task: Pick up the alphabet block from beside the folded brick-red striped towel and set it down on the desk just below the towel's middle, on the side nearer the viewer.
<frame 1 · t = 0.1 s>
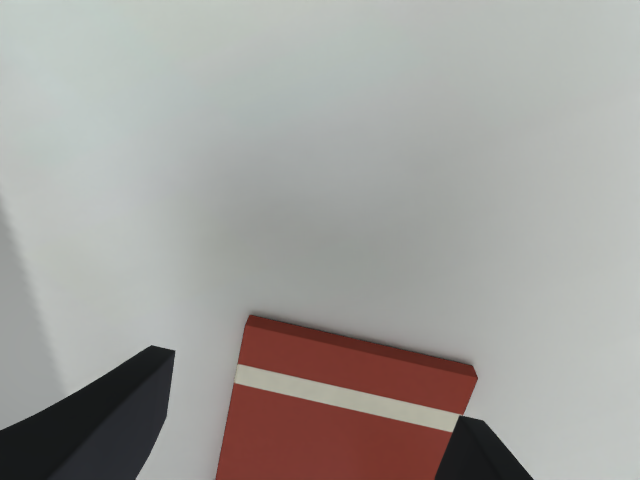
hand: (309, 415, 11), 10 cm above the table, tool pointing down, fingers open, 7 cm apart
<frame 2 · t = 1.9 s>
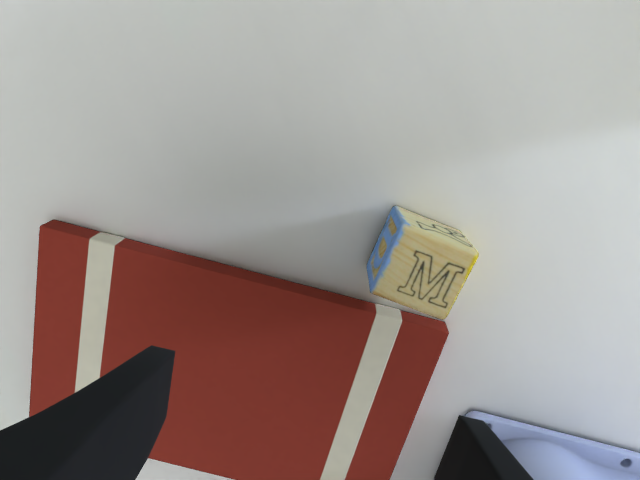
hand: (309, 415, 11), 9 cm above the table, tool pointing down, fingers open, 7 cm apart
towel: (228, 371, 23), on the table
alphabet block: (412, 245, 20), on the table
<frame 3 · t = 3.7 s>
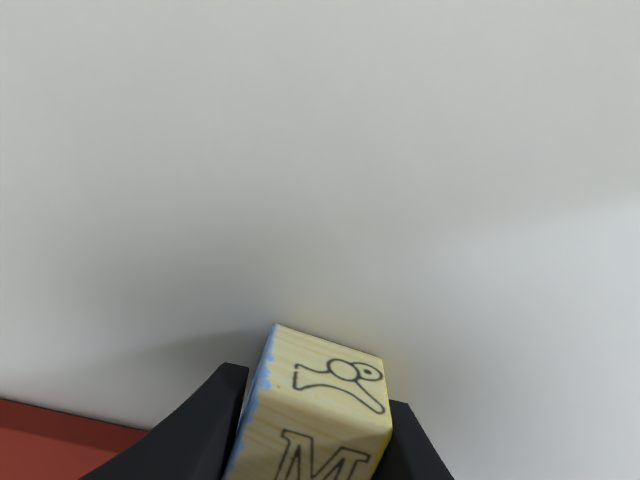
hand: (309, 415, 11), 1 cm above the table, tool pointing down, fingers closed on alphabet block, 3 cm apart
alphabet block: (312, 376, 13), on the table, touching gripper
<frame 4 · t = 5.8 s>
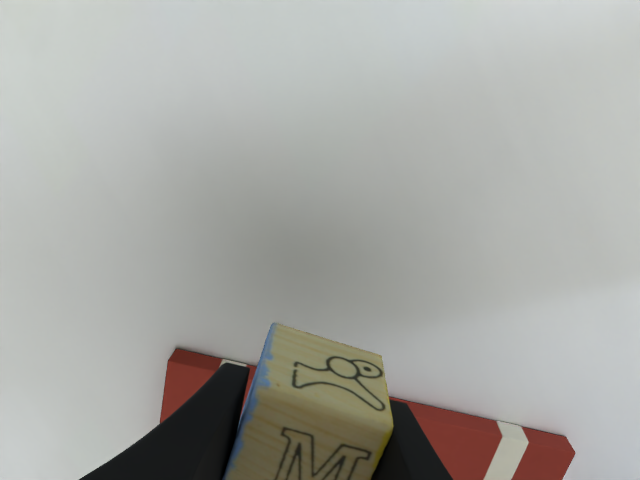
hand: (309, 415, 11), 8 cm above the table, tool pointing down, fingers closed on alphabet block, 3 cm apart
alphabet block: (312, 374, 13), point 7 cm above the table, touching gripper
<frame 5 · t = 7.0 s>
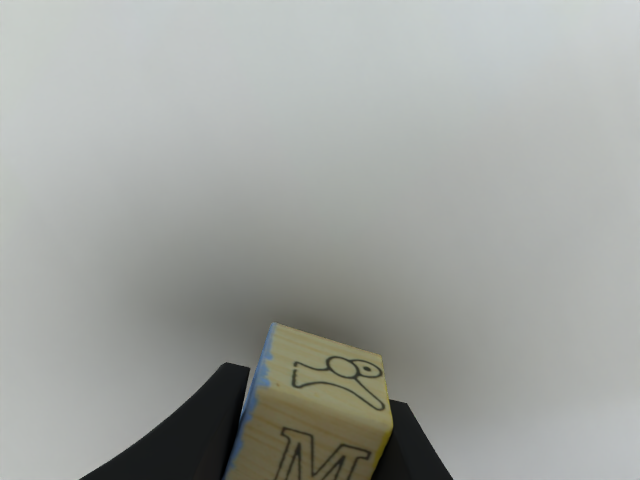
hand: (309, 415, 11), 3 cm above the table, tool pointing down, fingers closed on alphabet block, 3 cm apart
alphabet block: (312, 374, 13), point 1 cm above the table, touching gripper
when the fingers open (1 cm above the table, at t = 7.8 s): alphabet block stays where it is, on the table.
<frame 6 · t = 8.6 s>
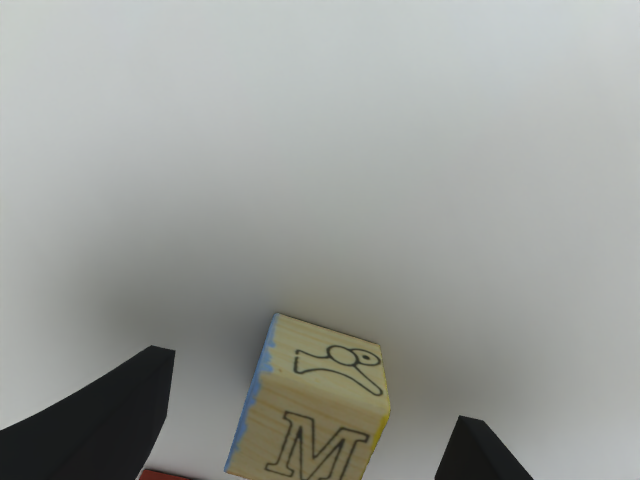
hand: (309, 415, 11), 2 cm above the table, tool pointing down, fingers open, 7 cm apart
alphabet block: (313, 364, 13), on the table
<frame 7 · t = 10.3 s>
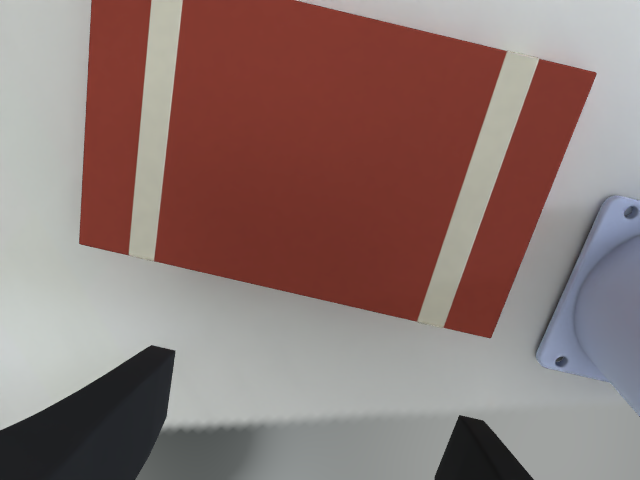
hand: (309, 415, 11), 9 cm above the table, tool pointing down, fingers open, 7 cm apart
towel: (315, 162, 19), on the table
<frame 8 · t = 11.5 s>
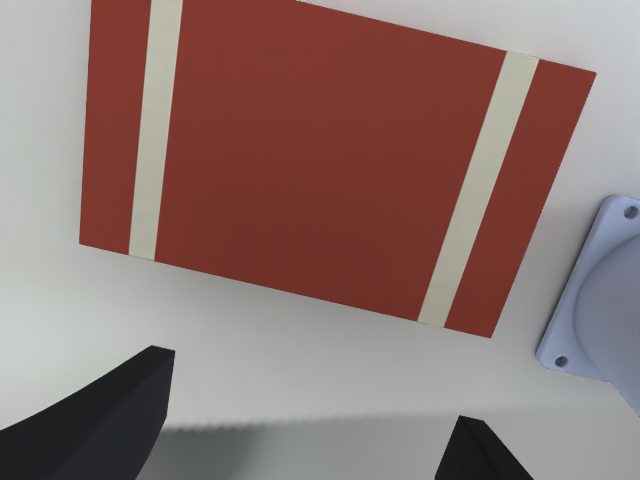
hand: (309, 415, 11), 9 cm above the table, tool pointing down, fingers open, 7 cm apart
towel: (315, 162, 19), on the table
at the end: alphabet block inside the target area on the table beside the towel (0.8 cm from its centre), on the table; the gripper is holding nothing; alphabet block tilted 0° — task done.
